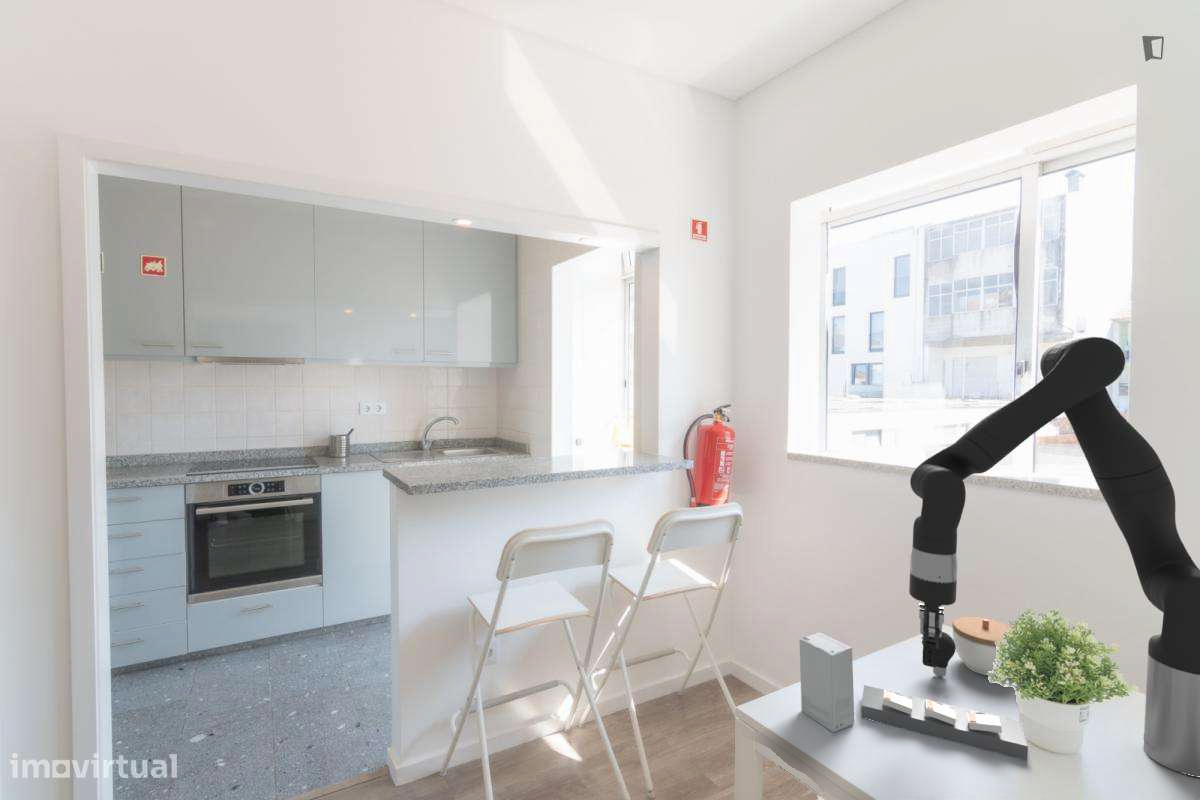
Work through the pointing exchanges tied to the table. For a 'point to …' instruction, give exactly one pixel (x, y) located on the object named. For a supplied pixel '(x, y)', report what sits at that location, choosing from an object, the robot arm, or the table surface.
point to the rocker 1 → (897, 702)
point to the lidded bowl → (977, 641)
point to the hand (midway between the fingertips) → (929, 664)
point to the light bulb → (944, 654)
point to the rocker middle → (940, 712)
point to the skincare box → (827, 681)
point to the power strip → (946, 724)
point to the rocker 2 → (984, 722)
